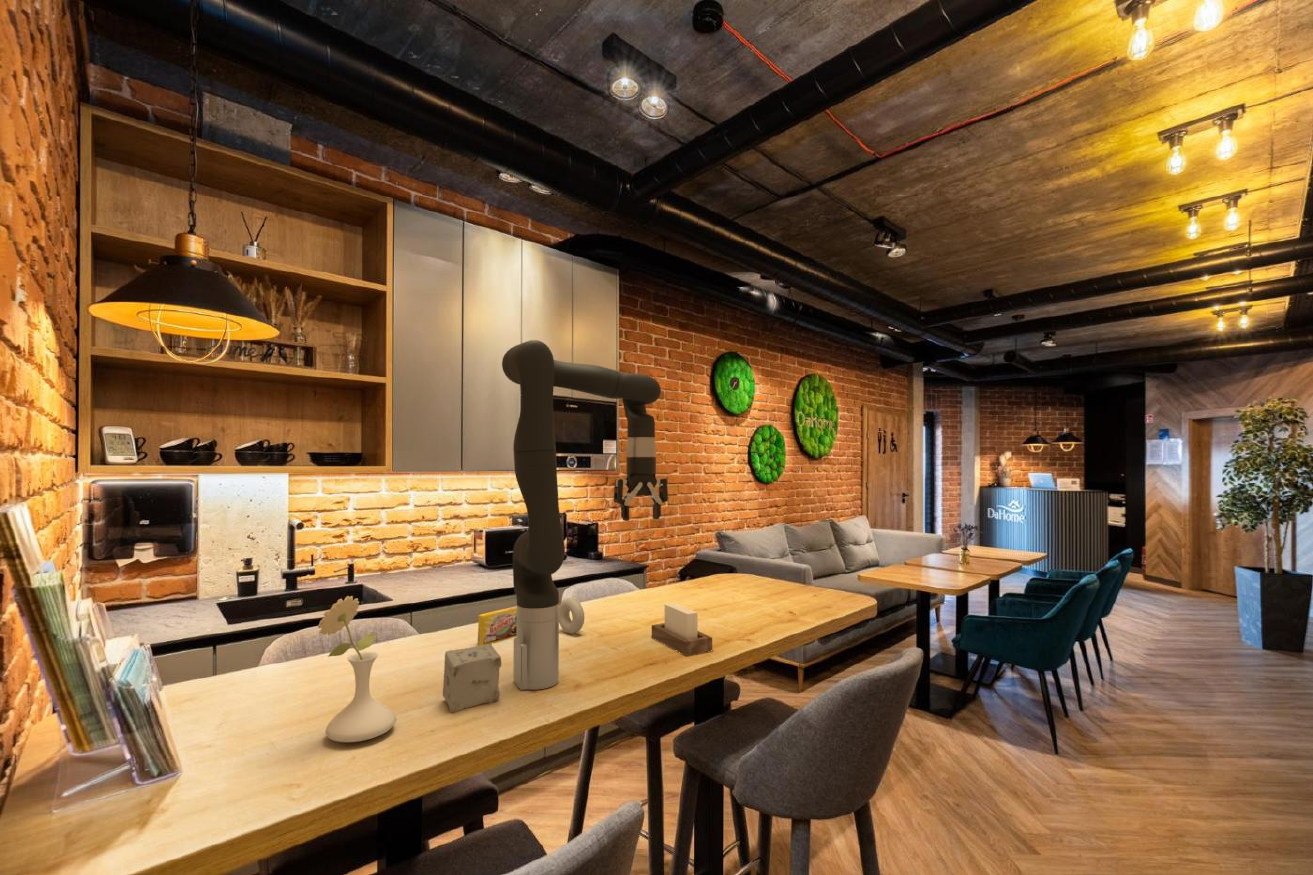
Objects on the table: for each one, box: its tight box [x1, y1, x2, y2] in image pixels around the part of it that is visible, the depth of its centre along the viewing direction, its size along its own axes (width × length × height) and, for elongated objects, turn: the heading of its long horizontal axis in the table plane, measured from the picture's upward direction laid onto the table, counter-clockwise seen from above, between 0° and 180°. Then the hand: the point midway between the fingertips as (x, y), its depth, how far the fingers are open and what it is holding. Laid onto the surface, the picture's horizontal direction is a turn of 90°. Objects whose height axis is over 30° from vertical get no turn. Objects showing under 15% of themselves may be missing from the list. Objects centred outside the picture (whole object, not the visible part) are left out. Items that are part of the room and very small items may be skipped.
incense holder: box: [442, 644, 502, 714], centre depth 120 cm, size 10×8×10 cm
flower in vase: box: [317, 595, 397, 743], centre depth 106 cm, size 13×11×25 cm
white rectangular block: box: [664, 602, 699, 640], centre depth 158 cm, size 3×12×9 cm, turn 29°
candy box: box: [476, 605, 517, 646], centre depth 163 cm, size 16×2×8 cm, turn 143°
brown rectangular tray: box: [651, 622, 713, 657], centre depth 158 cm, size 8×18×4 cm, turn 29°
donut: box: [559, 597, 585, 635], centre depth 168 cm, size 10×3×10 cm, turn 47°
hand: (641, 519), depth 149 cm, fingers open, 8 cm apart
